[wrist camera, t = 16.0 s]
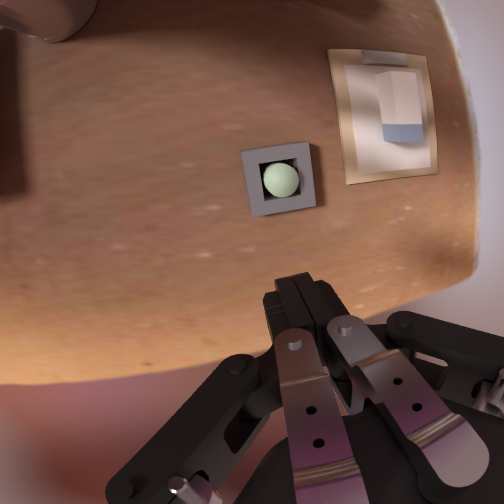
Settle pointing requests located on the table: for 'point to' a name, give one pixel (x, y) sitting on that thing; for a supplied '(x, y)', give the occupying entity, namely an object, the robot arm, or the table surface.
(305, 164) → the button housing
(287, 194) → the button
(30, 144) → the table surface
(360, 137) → the clipboard
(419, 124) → the white carton blue base
